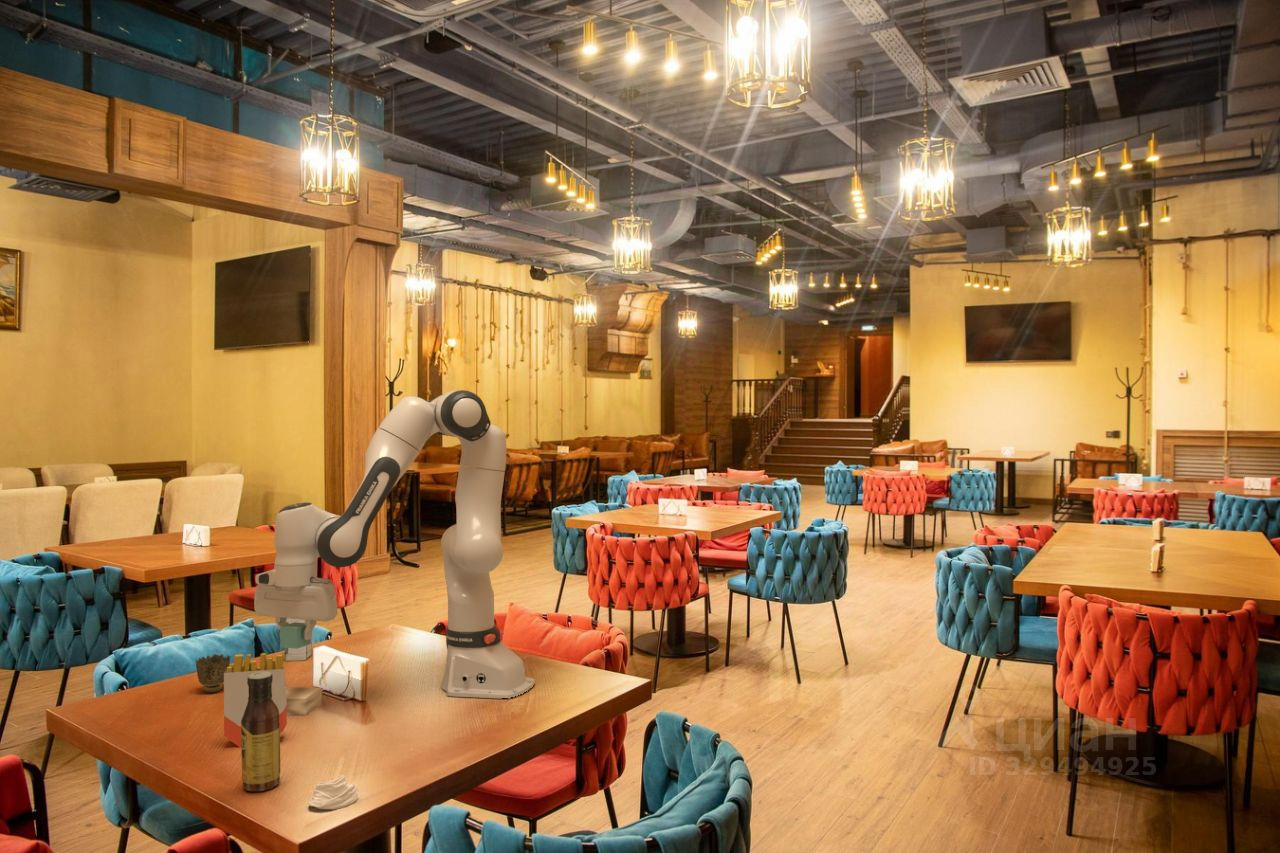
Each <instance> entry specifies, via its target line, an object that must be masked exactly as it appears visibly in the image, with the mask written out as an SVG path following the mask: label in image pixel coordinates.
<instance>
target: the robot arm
mask: <svg viewBox="0 0 1280 853" xmlns="http://www.w3.org/2000/svg"><path fill="white" fill-rule="evenodd" d="M488 414H489V413H488V411H487V408H486V406H485V402H483V400H482V398H480V396H479V395H477V394H476V393H474V392H472V391H469V390H463V389H462V390H459V389H458V390H450V391H447V392H445V393H443V394H439V395H438V396H436V397H434V398H431V399H430V400H429V401H427V400H425V398H424V399H423V398H422V397H418V396H414V395H408V396H405V397H403V398H402V399H400V400H399V401H398V402H397V403H396V404H395V405H394V407H393V408H392V409H391V410H390V411H389V412H388V414H386V416H385V417H384V419H383V420H382V421H381V422H380V425H379V426H378V428H376V430H375V432H374V434H373V436H372V438H371V439H370V442H369V444H368V446H367V449H366V451H365V470H364V472H365V473H364V476H363V479H362V482H361V483H360V485H359V487H358V488H357V491H356V492H355V494H354V495H353V497H352V499H351V500H350V502H349V503H348V506H347V507H346V509H345V510H344V512H343V513H342V514H341V515H338V514H335V513H331V512H329V511H326V510H324V509H322V508H320V507H318V506H316V505H315V504H314V503H313V502H307V501H306V502H298V503H293V504H290V505H286V506H283V507H282V508H281V509H280V510H279V511H278V512H277V515H276V518H275V524H274V540H273V542H274V543H273V544H274V547H275V551H276V552H275V553H276V555H275V559H274V566H273V567H274V568H272V569H270V570H267V571H264V572H261V573H258V574H255V578H254V579H255V580H254V581H255V583H256V584H257V586H256V587H255V589H254V601H253V605H254V607H253V608H254V612H255V614H256V615H257V616H260V617H261V616H262V617H272V618H274V621H275V624H276V626H277V628H278V630H279V631H280V627H281V626H284V625H286V622H285V620H287V618H291V619H302V620H305V625H307V626H306V629H305V631H302V632H301V635H302V636H301V639H304V640H309V639H311V638H312V639H313V630H314V628H315V627H316V625H317V622H322V623H323V622H329V621H332V620H335V618H336V617H337V615H338V604H337V603H338V602H337V596H336V586H335V584H334V583H333V581H331V580H330V579H329V578H326V577H322V578H321V577H318V558H321V560H322V561H323V562H324V563H326V564H327V565H329V566H331V567H335V568H345V567H349V566H353V565H354V564H356V563H357V562H358V561H360V560H361V559H362V557H363V555H364V554H365V552H366V550H367V547H368V540H369V532H370V529H371V526H372V524H373V522H374V521H375V519H376V517H377V515H378V513H379V512H380V510H381V508H382V506H384V503H385V501H386V500H387V498H388V497H389V494H390V493H391V491H392V490H393V488H394V487H395V485H397V483H398V482H399V480H400V479H401V478H402V477H403V475H404V474H405V473H406V472H407V471H408V469H409V468H410V467H411V466H412V464H413V463H414V462H415V460H416V459H417V458H418V456H419V454H420V452H421V451H422V449H423V447H424V446H425V444H426V442H427V441H428V440H429V439H430V438H431V436H433V435H434V434H438V435H442V436H446V437H453V438H457V439H458V441H459V442H460V447H461V457H460V459H459V460H460V461H459V467H458V468H459V469H458V476H457V480H456V487H455V493H454V494H455V496H454V500H455V507H456V512H455V513H456V523H455V524H453V525H451V526H450V527H448V528H447V529H446V530H445V531H444V533H443V534H442V536H441V540H440V547H441V551H442V552H441V553H442V561H443V571H444V577H445V586H446V590H447V591H446V592H447V627H446V629H445V630H446V631H445V639H446V640H445V644H446V649H447V652H446V660H445V661H446V662H445V669H444V673H443V674H444V675H443V678H442V681H441V682H442V683H441V685H440V687H441V689H442V690H444V691H445V692H446V695H447V696H448V697H456V698H457V697H459V698H460V697H461V698H481V699H482V698H484V699H502V698H508V699H512V698H511V697H513V698H516V697H519V696H521V695H520V694H522V695H523V693H524V692H526V691H527V692H529V691H530V690H531V689H530V688H532V687H533V685H534V683H536V682H535V679H534V678H532V677H528V676H526V670H525V664H524V661H523V659H522V657H520V656H519V655H517V654H516V653H515V652H514V651H512V650H511V649H510V648H508V646H507V645H506V644H504V643H503V642H502V639H501V636H502V635H504V634H505V633H504V632H505V629H501V630H498V629H497V627H496V625H495V594H494V593H495V592H494V590H493V585H492V581H491V576H490V572H492V571H494V570H495V569H497V567H498V566H499V565H500V563H501V562H502V559H503V554H504V547H503V545H502V521H501V520H502V519H501V518H502V515H501V509H502V508H501V506H502V504H501V503H502V502H501V501H502V494H503V487H504V479H505V473H506V465H507V435H506V433H505V432H504V430H503V429H502V428H501V427H499V426H498V425H495V424H492V423H491V420H490V417H489V415H488ZM534 686H535V685H534ZM533 688H534V687H533ZM529 689H530V690H529ZM528 690H529V691H528ZM527 692H526V693H527ZM524 694H525V693H524ZM518 695H519V696H518ZM515 696H516V697H515Z"/></svg>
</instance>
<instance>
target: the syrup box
mask: <svg viewBox="0 0 1280 853" xmlns="http://www.w3.org/2000/svg"><path fill="white" fill-rule="evenodd" d="M285 622H286V625H287V624H291V623H294V622H297V623H305V620H302V619H291V618H287V620H285ZM312 654H313V637H312V638H311V644H309V645H306V646H303V647H300V648H297V649H294V648H285V647H284V662H298V661H300V662H301V661H307V660H308V659H309V658H310V657H311V656H312Z"/></svg>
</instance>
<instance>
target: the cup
mask: <svg viewBox="0 0 1280 853" xmlns="http://www.w3.org/2000/svg"><path fill="white" fill-rule="evenodd" d="M230 662H231V655H230V654H228V655H226V656H225V657H224V654H222V653H221V654H220V655H219V654H216V653H215V654H213V655H211V656H210V655H207V656H206V657H205V656H202V657H199V658H198V659H197V658H196V660H195V667H196V674H197V680H198V683H200V685H202V686H204V692H205V693H207V694H214V693H217V692H218V693H219V692H220V691H221V690H222V688H223V686H222V685H223V684H224V672H225V671H226V670H227V667H230V665H231V663H230Z"/></svg>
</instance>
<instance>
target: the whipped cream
mask: <svg viewBox="0 0 1280 853" xmlns="http://www.w3.org/2000/svg"><path fill="white" fill-rule="evenodd" d="M347 782H348V780H347V778H346V776H345V774H341V775H339V776H338V777H337V778H335V779H330V780H327V781H322V782H321V781H320V782H318V783H316V786H315V789H314V790H313V796H312V797H311V800H310V801H308V802H307V803H308V806H309V807H315V808H316V809H319V810H338V809H343V808H345V807H347V806H350V805H353V803H354V802H356V801H357V799H358V795H359V793H358V791H359V789H358V787H357V785H356V784H355V783H350V784H349V783H347Z"/></svg>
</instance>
